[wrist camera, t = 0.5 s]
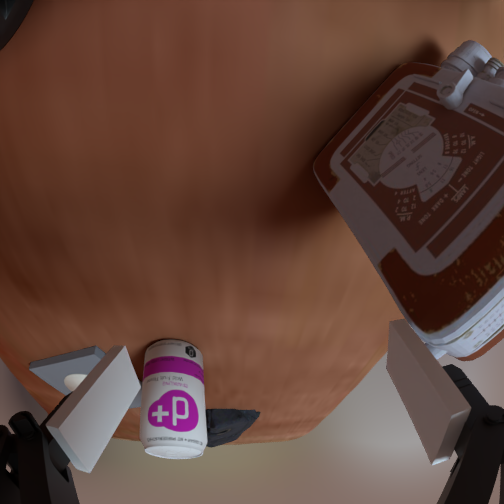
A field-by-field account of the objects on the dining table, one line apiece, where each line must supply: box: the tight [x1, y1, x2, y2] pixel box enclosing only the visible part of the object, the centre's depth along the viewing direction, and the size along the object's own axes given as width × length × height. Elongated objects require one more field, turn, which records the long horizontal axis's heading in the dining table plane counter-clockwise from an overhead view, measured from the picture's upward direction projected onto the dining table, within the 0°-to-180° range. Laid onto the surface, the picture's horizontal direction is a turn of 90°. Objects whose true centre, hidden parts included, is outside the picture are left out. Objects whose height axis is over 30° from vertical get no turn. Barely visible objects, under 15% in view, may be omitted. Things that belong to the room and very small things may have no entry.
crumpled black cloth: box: [205, 409, 260, 447], centre depth 60 cm, size 15×22×5 cm
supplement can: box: [140, 339, 207, 459], centre depth 35 cm, size 8×8×15 cm
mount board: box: [29, 346, 142, 408], centre depth 44 cm, size 18×18×2 cm
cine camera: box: [313, 40, 504, 361], centre depth 15 cm, size 9×19×20 cm, turn 143°
